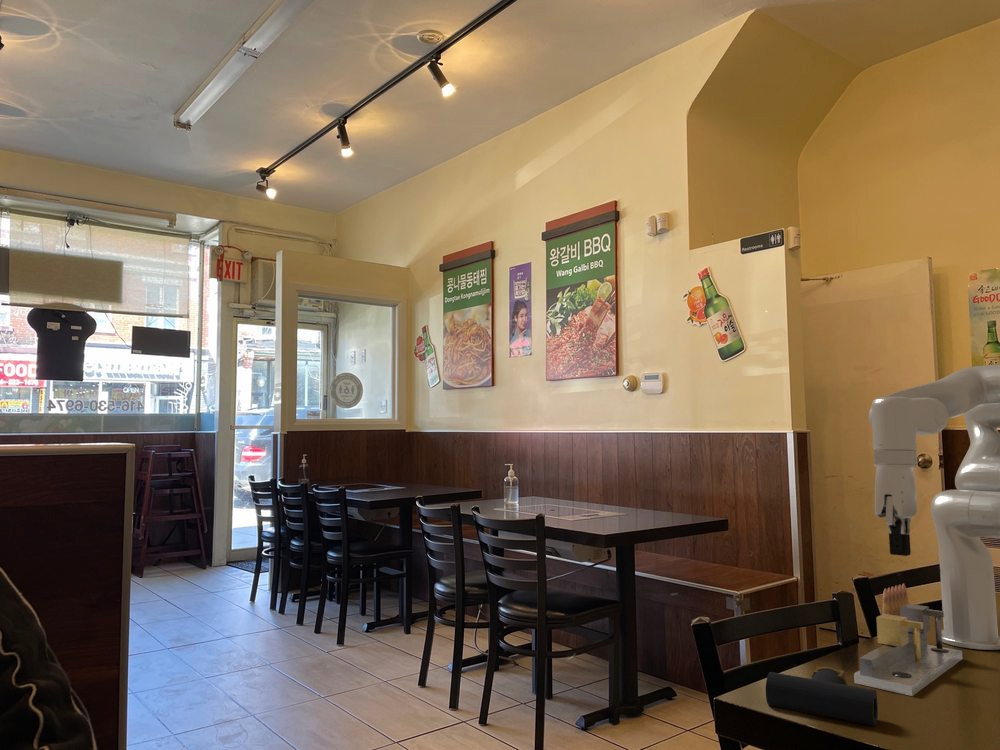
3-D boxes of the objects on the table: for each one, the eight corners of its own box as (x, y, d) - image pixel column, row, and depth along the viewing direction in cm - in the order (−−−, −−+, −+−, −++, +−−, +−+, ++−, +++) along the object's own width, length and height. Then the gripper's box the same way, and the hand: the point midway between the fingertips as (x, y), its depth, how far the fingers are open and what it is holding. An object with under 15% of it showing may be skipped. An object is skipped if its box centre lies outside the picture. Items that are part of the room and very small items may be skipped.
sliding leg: (886, 653, 133) (884, 613, 134) (927, 660, 128) (925, 620, 129) (878, 657, 131) (876, 617, 131) (920, 665, 126) (918, 623, 126)
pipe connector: (783, 656, 120) (882, 672, 112) (784, 689, 120) (884, 707, 111) (764, 675, 111) (871, 694, 103) (766, 710, 111) (873, 732, 102)
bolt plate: (910, 649, 143) (909, 627, 143) (962, 659, 136) (961, 635, 137) (854, 683, 122) (853, 656, 123) (912, 696, 116) (910, 668, 116)
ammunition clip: (891, 650, 142) (888, 589, 144) (882, 648, 144) (878, 588, 145) (913, 641, 149) (910, 583, 150) (904, 639, 150) (900, 582, 152)
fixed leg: (908, 640, 142) (906, 603, 143) (948, 647, 137) (946, 609, 138) (902, 644, 140) (899, 606, 140) (942, 651, 135) (940, 612, 135)
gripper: (887, 459, 147) (892, 549, 145) (860, 459, 137) (865, 556, 135) (928, 460, 142) (933, 553, 140) (903, 459, 131) (909, 560, 129)
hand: (900, 554), depth 137 cm, fingers closed
